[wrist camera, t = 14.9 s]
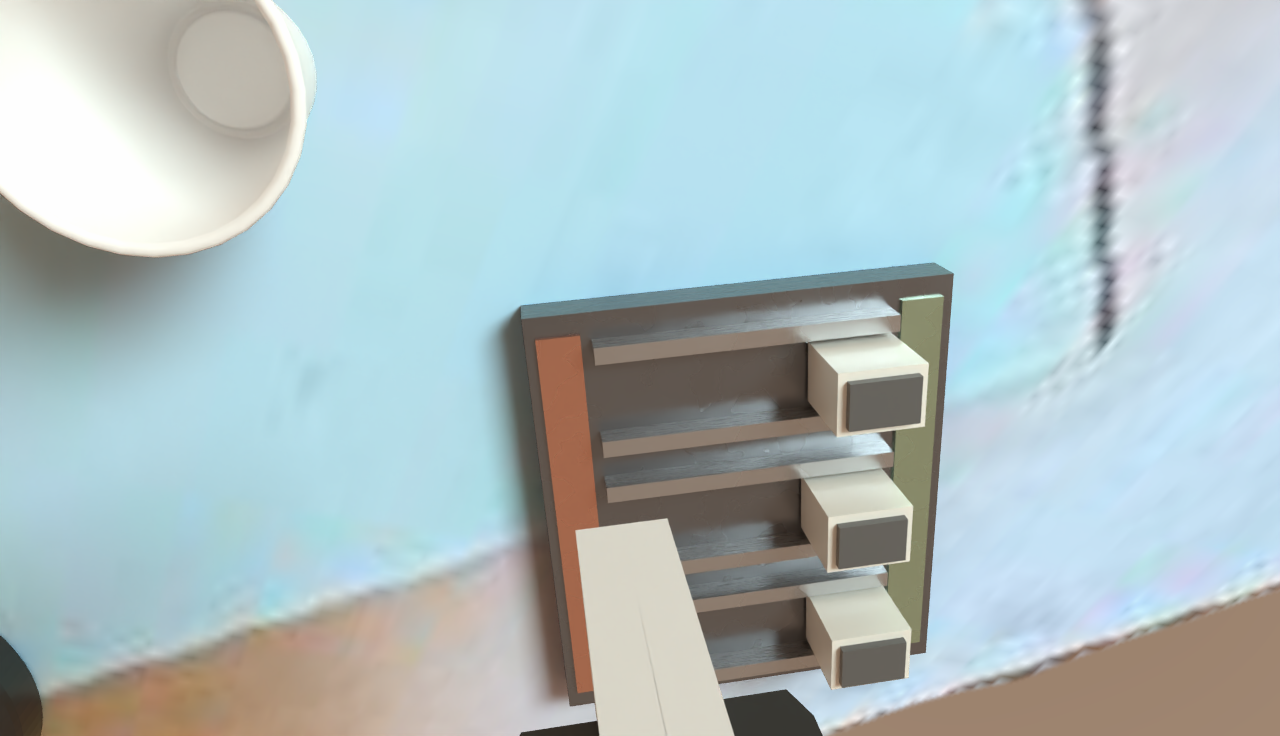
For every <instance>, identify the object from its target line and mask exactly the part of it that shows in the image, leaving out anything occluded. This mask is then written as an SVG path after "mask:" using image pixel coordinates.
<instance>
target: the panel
mask: <svg viewBox="0 0 1280 736" xmlns="http://www.w3.org/2000/svg"><path fill="white" fill-rule="evenodd" d="M953 275H954V273H952V272H950V271H948V270H946V269H945V268H943V267H941V266H939V265H937V264H936V263H926V264H917V265H907V266H898V267H888V268H878V269H869V270H859V271H850V272H840V273H830V274H821V275H811V276H801V277H792V278H782V279H773V280H763V281H753V282H744V283H734V284H725V285H715V286H705V287H696V288H686V289H677V290H667V291H657V292H648V293H638V294H628V295H619V296H609V297H600V298H590V299H580V300H571V301H561V302H552V303H542V304H532V305H523V306H521V322H522V330H523V338H524V346H525V354H526V362H527V370H528V378H529V386H530V394H531V402H532V410H533V418H534V426H535V434H536V441H537V449H538V457H539V465H540V473H541V481H542V489H543V497H544V505H545V513H546V521H547V529H548V537H549V545H550V553H551V561H552V569H553V577H554V584H555V592H556V600H557V608H558V616H559V624H560V632H561V640H562V648H563V656H564V664H565V672H566V680H567V688H568V696H569V704H570V706H577V705H583V704H590V703H595V700H594V691H593V683H592V674H591V666H590V657H589V648H588V639H587V630H586V621H585V612H584V603H583V594H582V585H581V576H580V567H579V558H578V549H577V540H576V531H575V530H582V529H589V528H597V527H604V526H612V525H620V524H627V523H635V522H643V521H650V520H658V519H666V518H667V519H668V522H669V526H670V529H671V532H672V535H673V539H674V542H675V545H676V548H677V551H678V555H679V558H680V561H681V564H682V568H683V571H684V574H685V577H686V581H687V584H688V587H689V590H690V594H691V597H692V600H693V603H694V606H695V610H696V613H697V616H698V619H699V623H700V626H701V629H702V632H703V636H704V639H705V642H706V645H707V649H708V652H709V655H710V658H711V662H712V665H713V668H714V671H715V674H716V678H717V681H718V684H722V683H729V682H735V681H742V680H748V679H755V678H762V677H768V676H775V675H782V674H788V673H795V672H801V671H808V670H815V669H821V667H820V665H819V663H818V661H817V659H816V657H815V655H814V653H813V651H812V649H811V647H810V644H809V642H808V640H807V638H806V597H811V596H818V595H825V594H832V593H839V592H846V591H853V590H860V589H867V588H874V587H881V586H883V587H884V588H885V590H886V591H887V593H888V594H889V596H890V597H891V599H892V601H893V602H894V604H895V605H896V607H897V608H898V610H899V611H900V613H901V614H902V616H903V617H904V619H905V620H906V622H907V623H908V625H909V626H910V628H911V629H912V630H911V645H910V655H914V654H920V653H926V641H927V627H928V613H929V600H930V586H931V573H932V559H933V546H934V532H935V519H936V505H937V492H938V478H939V464H940V451H941V437H942V424H943V410H944V397H945V383H946V370H947V356H948V343H949V329H950V316H951V302H952V288H953ZM882 333H892V334H893V335H895V336H896V337H897V338H898V339H900V340H901V341H902V342H903V343H904V344H906V345H907V346H908V347H909V348H911V349H912V350H913V351H914V352H916V353H917V354H918V355H919V356H921V357H922V358H923V359H924V360H926V361H927V362H928V363H929V369H928V385H927V400H926V415H925V427H917V428H909V429H901V430H893V431H885V432H877V433H869V434H860V435H852V436H844V437H836V436H835V435H834V433H833V432H832V431H831V429H830V428H829V427H828V426H827V424H826V423H825V422H824V421H823V419H822V418H821V417H820V416H819V414H818V413H817V412H816V410H815V409H814V408H813V407H812V405H811V404H810V403H809V402H808V342H811V341H820V340H829V339H838V338H847V337H856V336H865V335H874V334H882ZM878 468H882V469H883V470H884V472H885V473H886V474H887V475H888V476H889V478H890V479H891V480H892V481H893V482H894V484H895V485H896V486H897V487H898V488H899V490H900V491H901V492H902V493H903V494H904V496H905V497H906V498H907V499H908V500H909V502H910V503H911V504H912V505H913V518H912V534H911V550H910V561H908V562H901V563H894V564H887V565H880V566H873V567H866V568H858V569H851V570H844V571H837V572H830V573H827V571H826V570H825V568H824V566H823V564H822V563H821V561H820V559H819V557H818V556H817V554H816V552H815V550H814V549H813V547H812V545H811V543H810V542H809V540H808V538H807V536H806V535H805V533H804V531H803V529H802V528H801V478H808V477H816V476H824V475H832V474H839V473H847V472H855V471H863V470H871V469H878Z"/></svg>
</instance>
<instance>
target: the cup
mask: <svg viewBox="0 0 1280 736" xmlns="http://www.w3.org/2000/svg"><path fill="white" fill-rule="evenodd" d="M316 90H317V74H316V68H315V63H314V59H313V55H312V53H311V50H310V48H309V45H308V43H307V41H306V39H305V38H304V36H303V34H302V33H301V31H300V30H299V28H298V27H297V25H296V24H295V23H294V22H293V21H292V20H291V19H290V18H289V16H288V15H287V14H286V13H285V12H284V11H283V10H282V9H281V8H279V7H278V6H277V5H276V4H275V3H274V2H273V1H272V0H0V194H2V195H3V196H4V197H5V198H6V199H7V200H8V201H10V202H11V203H12V204H13V205H14V206H15V207H16V208H18V209H19V210H20V211H21V212H23V213H24V214H26V215H28V216H29V217H31V218H32V219H34V220H36V221H37V222H39V223H40V224H42V225H43V226H45V227H47V228H48V229H50V230H51V231H53V232H55V233H58V234H60V235H62V236H65V237H67V238H69V239H72V240H74V241H76V242H79V243H81V244H83V245H86V246H88V247H92V248H96V249H100V250H104V251H108V252H112V253H116V254H120V255H128V256H141V257H154V258H158V257H168V256H178V255H187V254H192V253H195V252H199V251H202V250H205V249H208V248H212V247H215V246H218V245H221V244H223V243H225V242H227V241H228V240H230V239H232V238H234V237H236V236H237V235H239V234H241V233H243V232H245V231H246V230H248V229H249V228H250V227H252V226H253V225H254V224H255V223H256V222H257V221H258V220H259V219H261V218H262V217H263V216H264V215H265V214H266V213H267V212H269V211H270V210H271V209H272V207H273V206H274V204H275V203H276V202H277V200H278V199H279V197H280V196H281V195H282V193H283V192H284V190H285V189H286V188H287V186H288V185H289V183H290V180H291V178H292V176H293V173H294V171H295V169H296V166H297V164H298V162H299V159H300V157H301V153H302V147H303V142H304V137H305V131H306V126H307V119H308V117H309V114H310V112H311V109H312V107H313V104H314V100H315V95H316Z"/></svg>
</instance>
